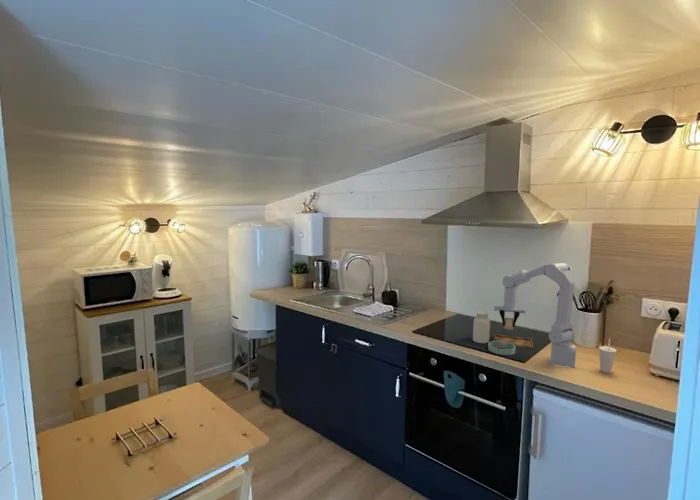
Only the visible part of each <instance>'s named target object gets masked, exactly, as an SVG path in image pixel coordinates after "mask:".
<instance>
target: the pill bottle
mask: <svg viewBox="0 0 700 500" xmlns="http://www.w3.org/2000/svg"><path fill="white" fill-rule="evenodd" d="M472 328H473V329H472V341H474V342H475V343H478V344H487V343H489V342H490V335H491V334H490V332H491V320H490V318H489V313H488V312H486V311H482V310H481V311H477V312H476V317H474V319H473V327H472Z"/></svg>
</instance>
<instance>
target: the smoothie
mask: <svg viewBox="0 0 700 500" xmlns="http://www.w3.org/2000/svg"><path fill="white" fill-rule="evenodd" d="M598 351H599V367H600V371H601V372H603V373H606V374H610V373H612V369H613V365H614V361H615V357H616V354H617V353H618V352H617V351H618V350H617V349H616V348H614V347H611V338H608V346H606V345H605V346H604V345H602V346H598Z"/></svg>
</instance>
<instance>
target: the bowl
mask: <svg viewBox="0 0 700 500" xmlns="http://www.w3.org/2000/svg"><path fill="white" fill-rule="evenodd" d="M516 349H517V348H516V346H515V345H513V344H512V343H509V342H507V345H506V349H498V348H497V341H494V340H492V341H489V342H488V345H487V350H488V351H489V352H491V353H493V354H495V355H502V356H512V355H514V354H516Z"/></svg>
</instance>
